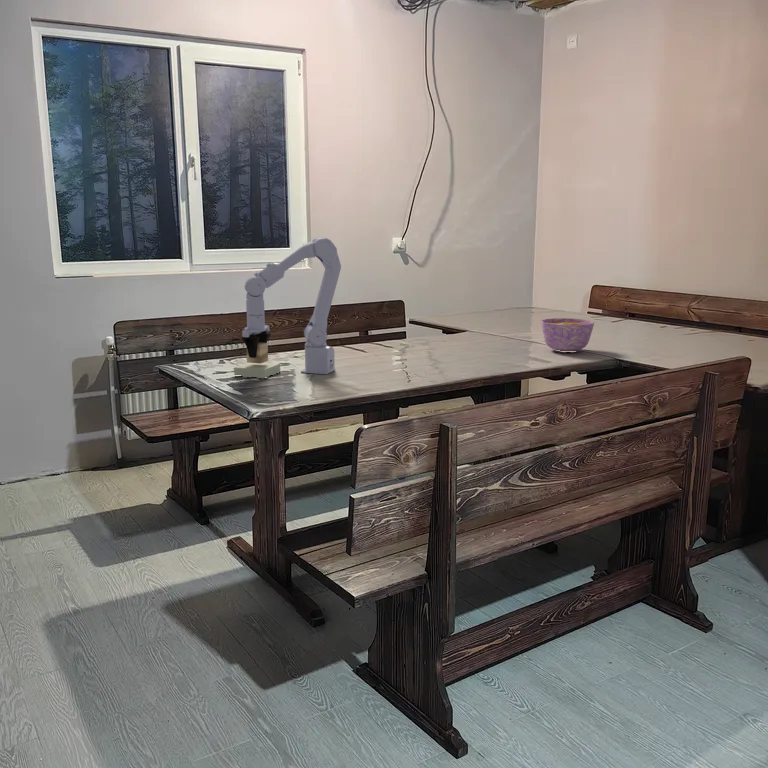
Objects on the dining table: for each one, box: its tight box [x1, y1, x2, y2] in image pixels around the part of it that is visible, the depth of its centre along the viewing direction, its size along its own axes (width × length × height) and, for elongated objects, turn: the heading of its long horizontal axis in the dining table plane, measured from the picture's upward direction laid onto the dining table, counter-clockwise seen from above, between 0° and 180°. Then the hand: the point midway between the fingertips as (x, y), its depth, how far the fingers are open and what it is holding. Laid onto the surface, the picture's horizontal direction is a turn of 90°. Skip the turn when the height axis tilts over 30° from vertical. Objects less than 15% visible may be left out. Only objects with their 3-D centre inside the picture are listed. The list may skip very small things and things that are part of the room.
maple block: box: [246, 342, 269, 364], centre depth 251 cm, size 5×5×6 cm
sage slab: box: [233, 362, 281, 378], centre depth 252 cm, size 11×11×3 cm
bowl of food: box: [540, 317, 595, 352], centre depth 295 cm, size 20×20×12 cm
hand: (257, 356), depth 251 cm, fingers closed on maple block, 5 cm apart
